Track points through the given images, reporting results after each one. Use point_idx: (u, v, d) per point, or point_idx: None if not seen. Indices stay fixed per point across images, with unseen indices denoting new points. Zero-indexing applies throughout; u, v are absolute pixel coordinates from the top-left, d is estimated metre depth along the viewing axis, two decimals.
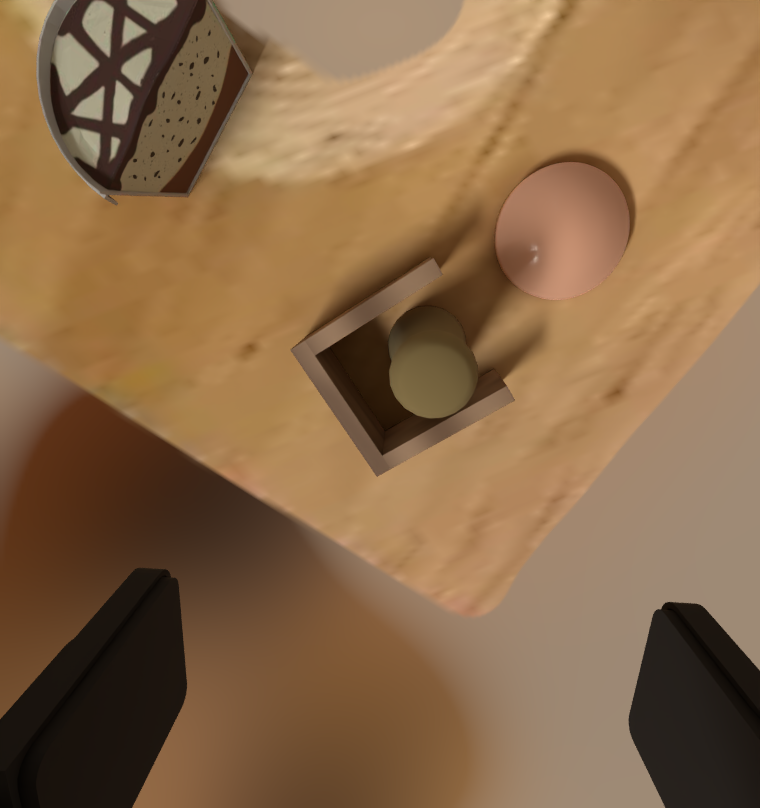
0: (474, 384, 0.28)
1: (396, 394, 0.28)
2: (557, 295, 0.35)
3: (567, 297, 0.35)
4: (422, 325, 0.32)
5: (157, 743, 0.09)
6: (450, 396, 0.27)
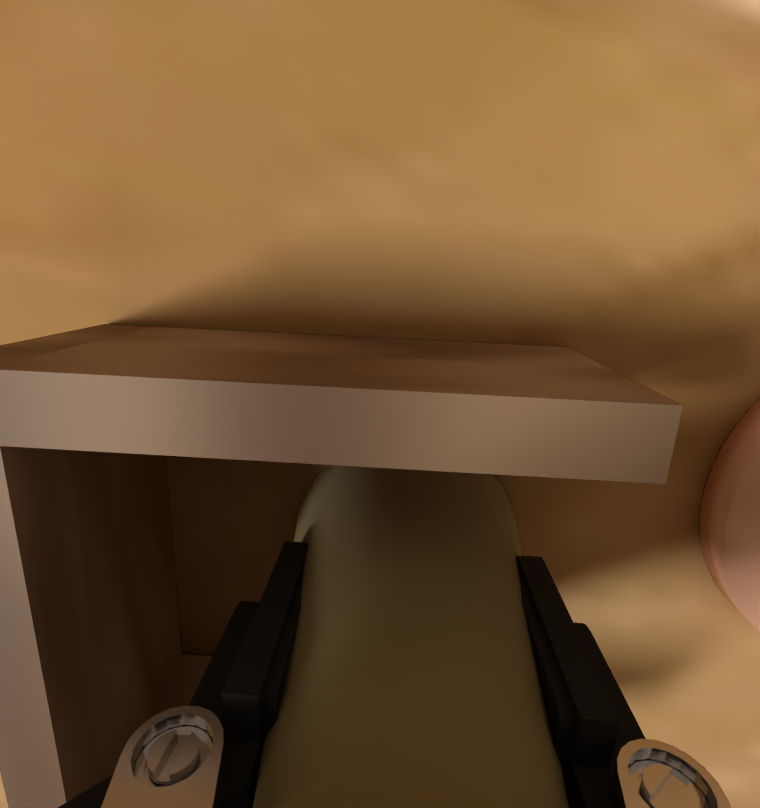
0: None
1: None
2: None
3: None
4: (464, 603, 0.08)
5: None
6: None
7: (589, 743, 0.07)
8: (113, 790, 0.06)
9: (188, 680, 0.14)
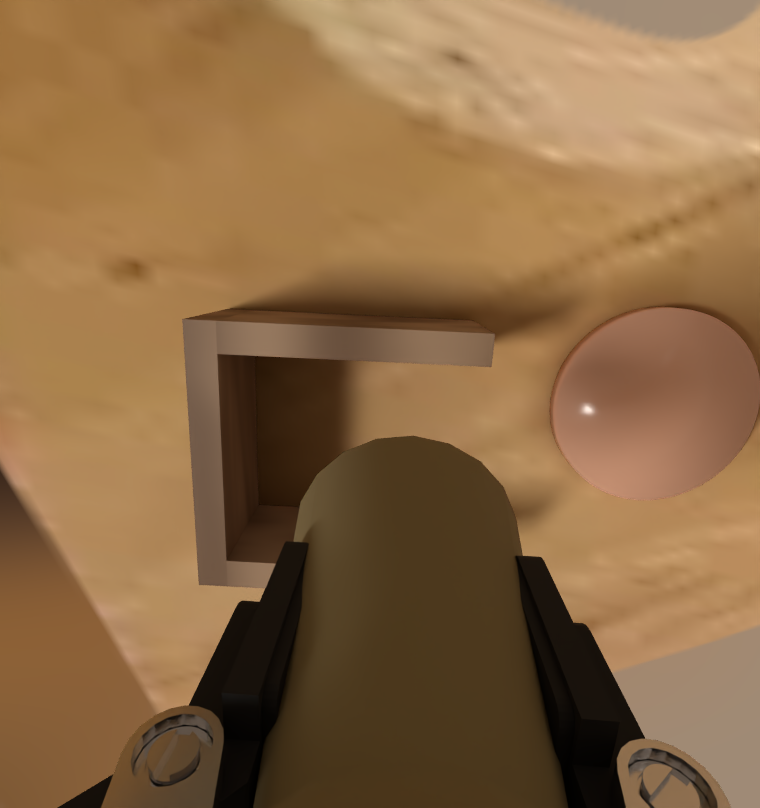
0: None
1: None
2: (596, 480, 0.23)
3: (606, 490, 0.23)
4: (464, 601, 0.08)
5: None
6: None
7: (589, 743, 0.07)
8: (113, 790, 0.06)
9: (265, 514, 0.24)
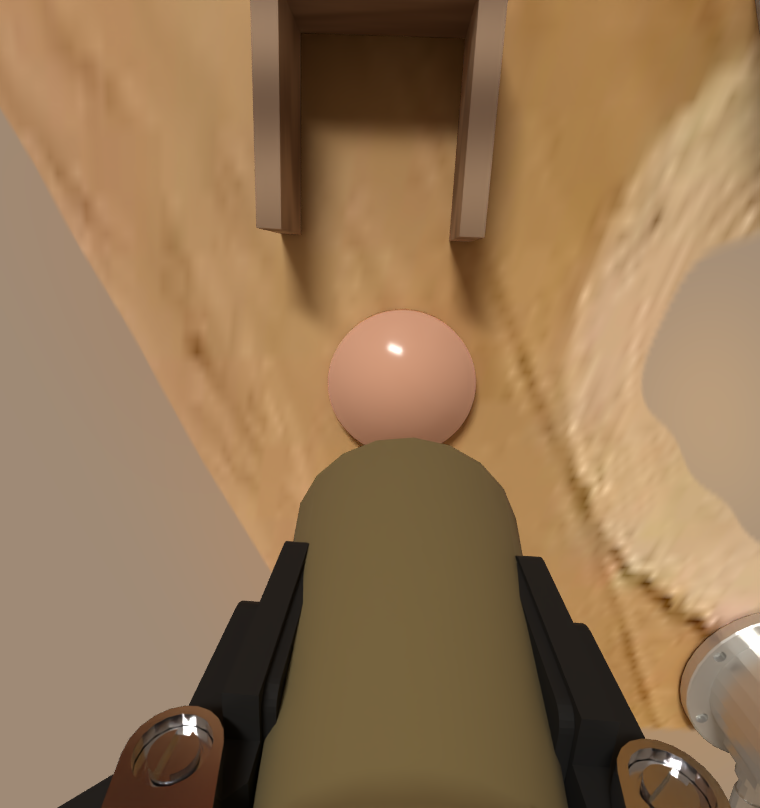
0: None
1: None
2: (343, 347, 0.29)
3: (334, 356, 0.29)
4: (464, 605, 0.08)
5: None
6: None
7: (589, 743, 0.07)
8: (113, 790, 0.06)
9: (297, 38, 0.25)
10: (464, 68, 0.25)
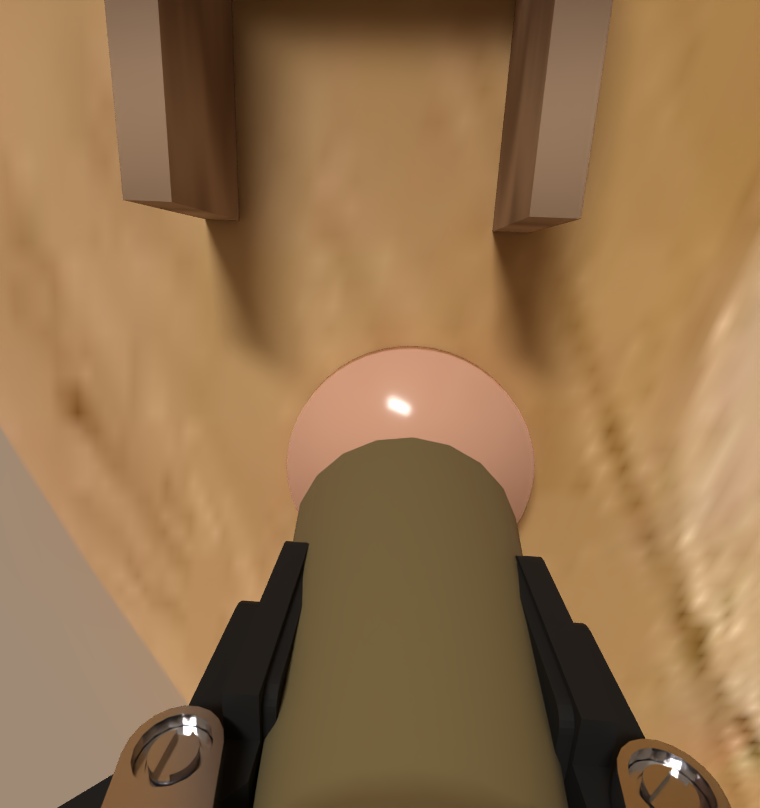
0: None
1: None
2: (311, 411, 0.17)
3: (297, 424, 0.17)
4: (464, 605, 0.08)
5: None
6: None
7: (589, 743, 0.07)
8: (113, 790, 0.06)
9: None
10: None
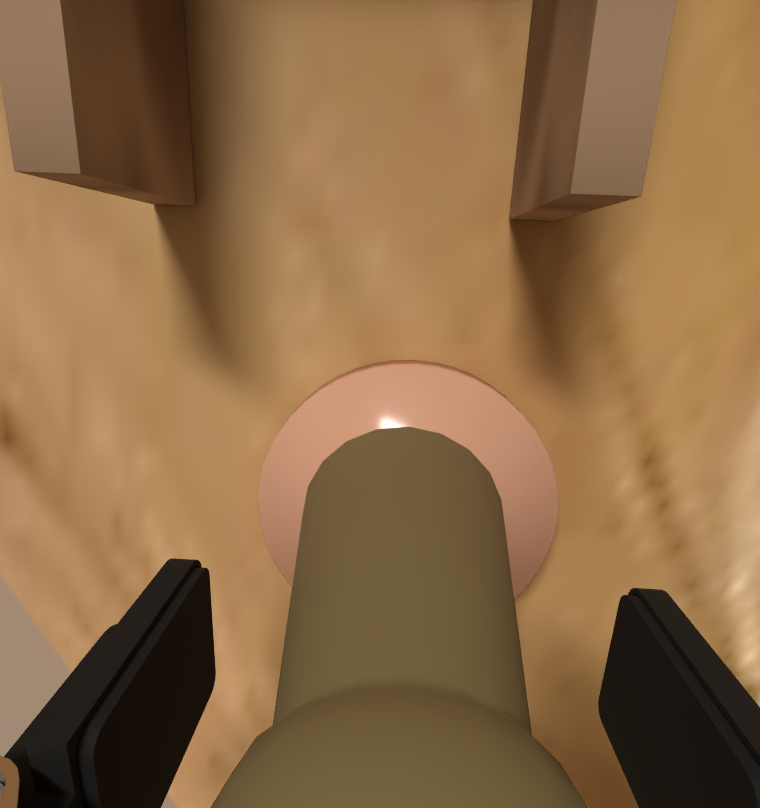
0: None
1: None
2: (286, 440, 0.14)
3: (270, 456, 0.14)
4: (448, 562, 0.09)
5: (191, 727, 0.09)
6: None
7: None
8: None
9: None
10: None
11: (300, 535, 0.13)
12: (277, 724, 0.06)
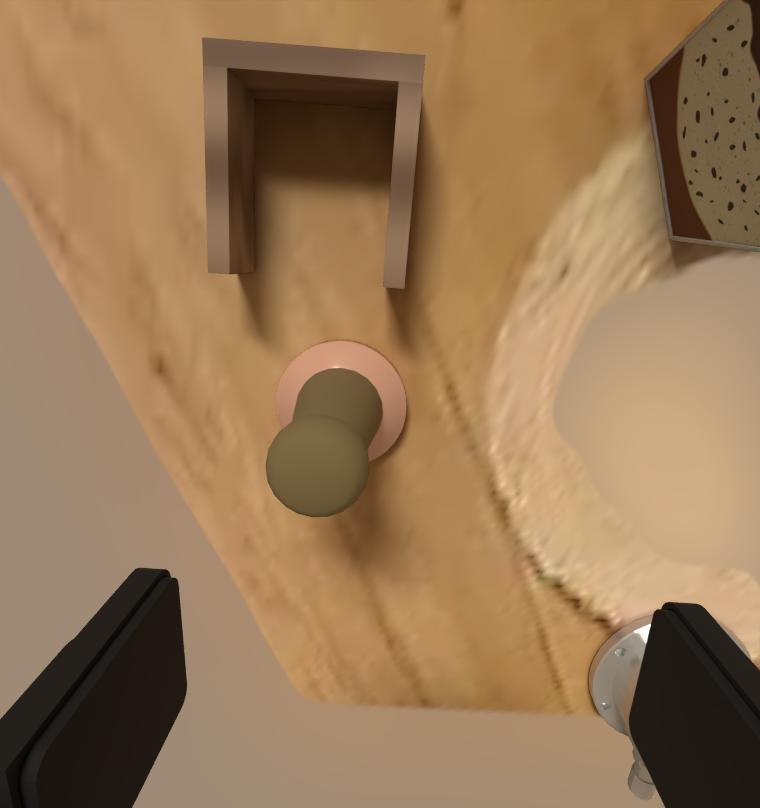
0: (348, 505, 0.24)
1: (267, 464, 0.24)
2: (289, 372, 0.33)
3: (282, 379, 0.33)
4: (343, 402, 0.28)
5: (157, 743, 0.09)
6: (318, 503, 0.23)
7: None
8: None
9: (250, 105, 0.28)
10: None
11: None
12: None
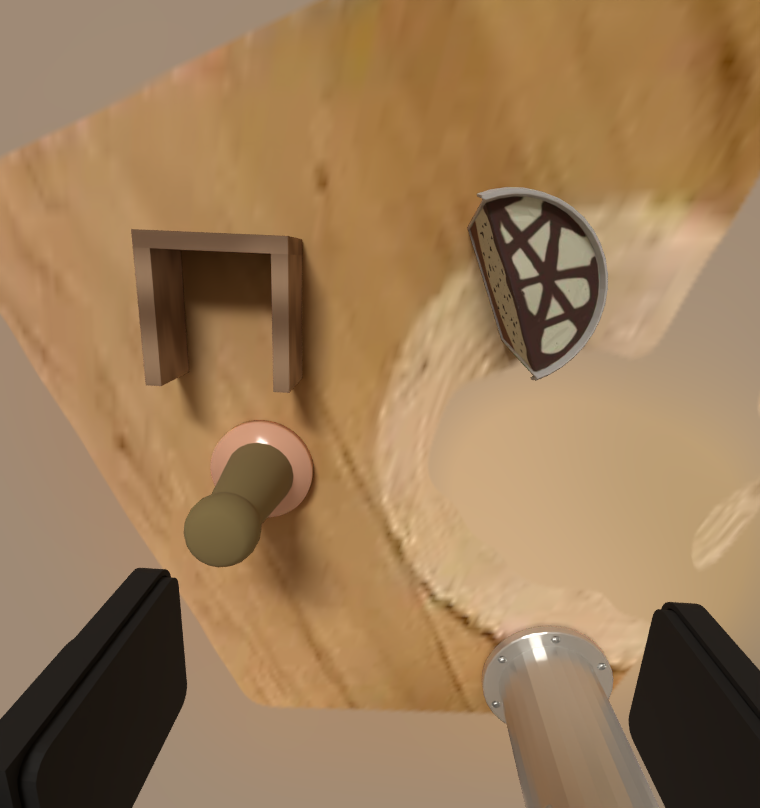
0: (243, 558, 0.34)
1: (184, 530, 0.33)
2: (219, 447, 0.43)
3: (214, 452, 0.43)
4: (249, 477, 0.37)
5: (157, 743, 0.09)
6: (220, 558, 0.33)
7: None
8: None
9: (176, 257, 0.38)
10: None
11: None
12: None
